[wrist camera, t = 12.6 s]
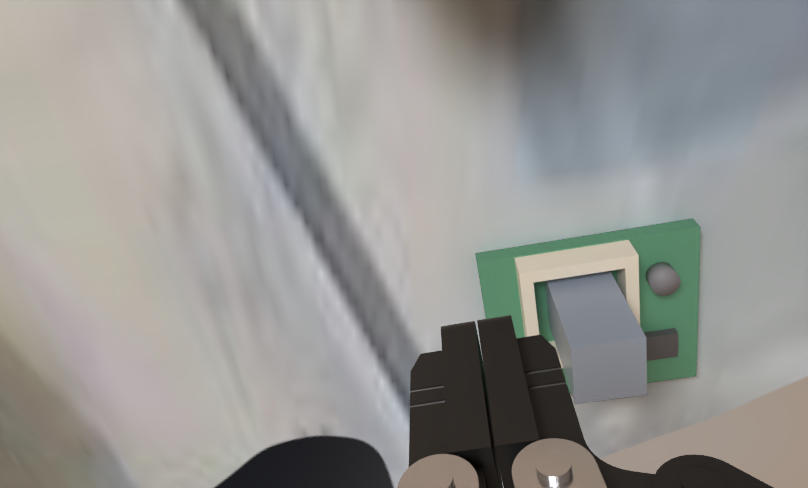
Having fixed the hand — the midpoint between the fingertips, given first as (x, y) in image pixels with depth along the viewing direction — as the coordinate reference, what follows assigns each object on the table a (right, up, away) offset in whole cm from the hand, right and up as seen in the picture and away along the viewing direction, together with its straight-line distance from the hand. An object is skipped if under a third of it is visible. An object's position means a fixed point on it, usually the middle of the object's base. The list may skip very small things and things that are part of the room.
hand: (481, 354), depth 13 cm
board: (+11, -2, +30) cm, 32 cm away
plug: (+10, -1, +28) cm, 30 cm away
